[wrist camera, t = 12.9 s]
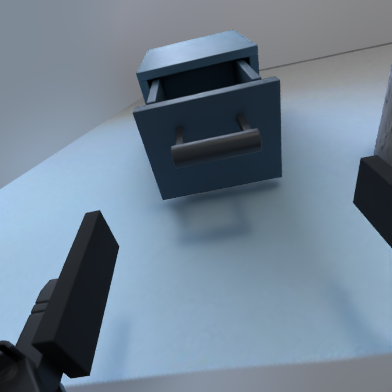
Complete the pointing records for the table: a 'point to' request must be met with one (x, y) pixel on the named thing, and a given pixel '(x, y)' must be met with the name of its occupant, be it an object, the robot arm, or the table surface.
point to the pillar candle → (385, 127)
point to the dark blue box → (195, 56)
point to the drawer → (211, 129)
